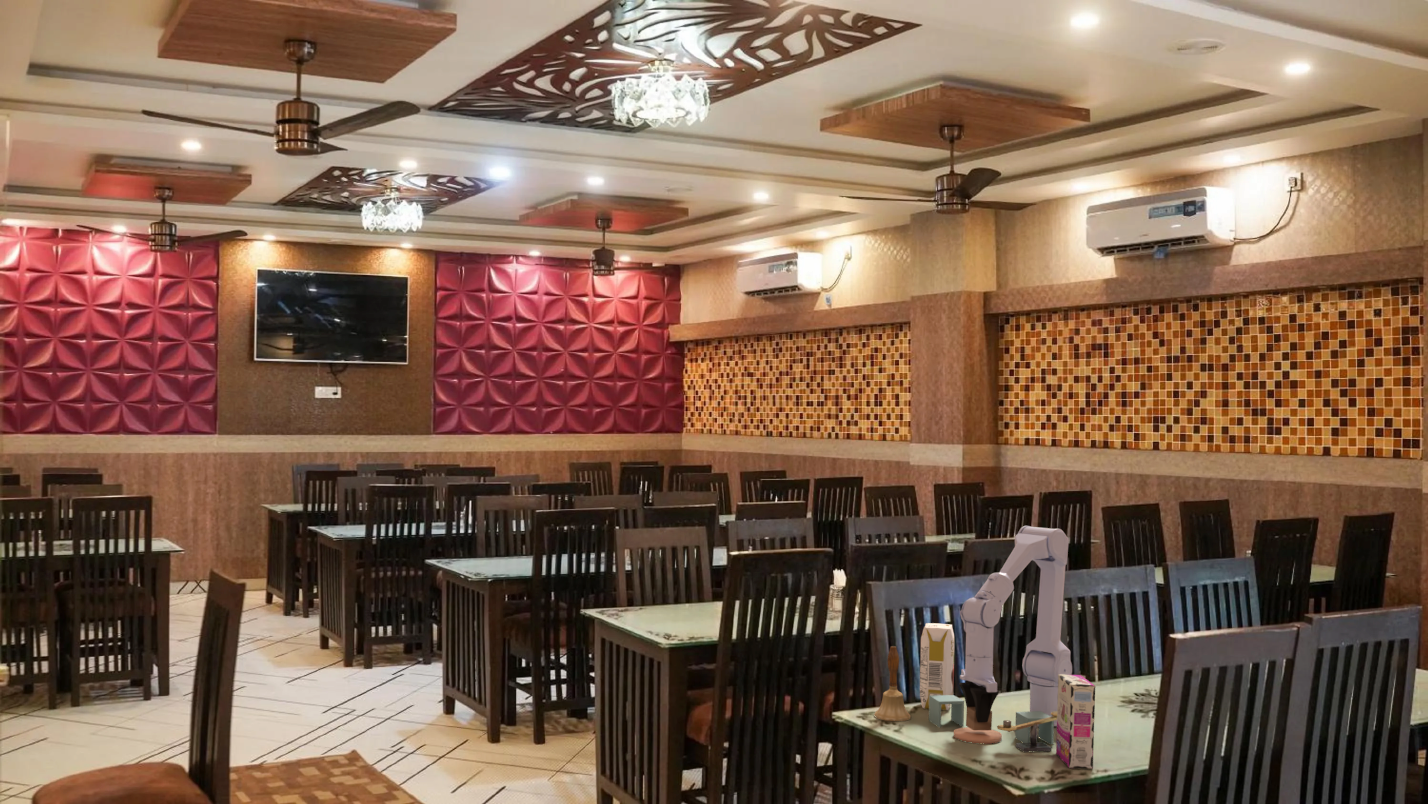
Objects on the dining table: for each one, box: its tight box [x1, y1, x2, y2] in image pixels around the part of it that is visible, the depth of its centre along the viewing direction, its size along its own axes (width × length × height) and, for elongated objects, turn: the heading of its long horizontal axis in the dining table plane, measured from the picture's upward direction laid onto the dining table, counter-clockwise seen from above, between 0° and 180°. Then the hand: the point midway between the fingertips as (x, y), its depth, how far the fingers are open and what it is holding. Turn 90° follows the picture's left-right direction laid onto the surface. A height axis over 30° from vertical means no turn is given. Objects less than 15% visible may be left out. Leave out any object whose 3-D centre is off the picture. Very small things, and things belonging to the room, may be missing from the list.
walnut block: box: [965, 706, 993, 730], centre depth 266 cm, size 4×4×4 cm
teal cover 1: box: [928, 694, 965, 728], centre depth 279 cm, size 6×6×6 cm
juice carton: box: [919, 622, 955, 711], centre depth 295 cm, size 8×9×19 cm
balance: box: [996, 711, 1057, 753], centre depth 258 cm, size 16×4×7 cm, turn 101°
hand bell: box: [873, 645, 912, 722], centre depth 284 cm, size 8×8×16 cm
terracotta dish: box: [953, 726, 1003, 745], centre depth 266 cm, size 10×10×1 cm
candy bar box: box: [1055, 674, 1096, 770], centre depth 249 cm, size 11×5×16 cm, turn 178°
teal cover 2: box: [1014, 711, 1055, 745], centre depth 265 cm, size 6×6×6 cm
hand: (978, 719), depth 266 cm, fingers closed on walnut block, 4 cm apart
